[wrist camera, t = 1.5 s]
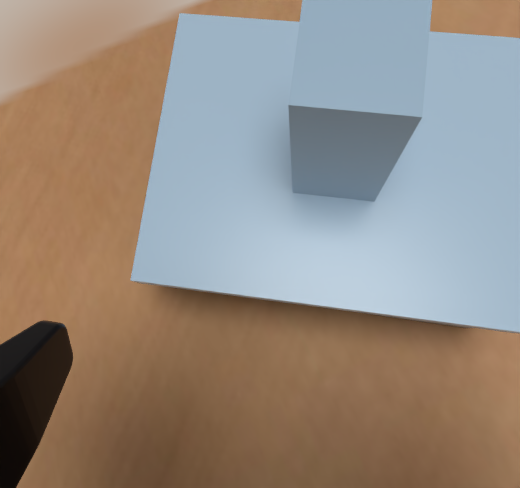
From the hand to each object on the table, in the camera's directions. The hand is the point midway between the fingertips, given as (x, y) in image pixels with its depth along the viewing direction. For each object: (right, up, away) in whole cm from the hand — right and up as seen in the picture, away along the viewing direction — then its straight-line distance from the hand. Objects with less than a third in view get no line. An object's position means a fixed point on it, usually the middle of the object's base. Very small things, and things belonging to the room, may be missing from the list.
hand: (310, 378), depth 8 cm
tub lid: (+2, +5, +11) cm, 12 cm away
